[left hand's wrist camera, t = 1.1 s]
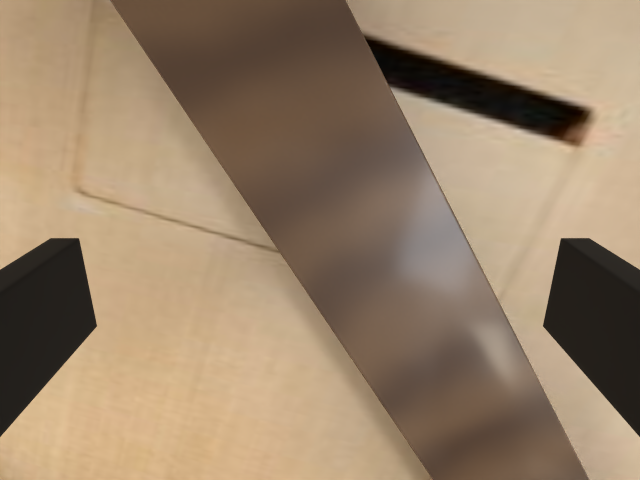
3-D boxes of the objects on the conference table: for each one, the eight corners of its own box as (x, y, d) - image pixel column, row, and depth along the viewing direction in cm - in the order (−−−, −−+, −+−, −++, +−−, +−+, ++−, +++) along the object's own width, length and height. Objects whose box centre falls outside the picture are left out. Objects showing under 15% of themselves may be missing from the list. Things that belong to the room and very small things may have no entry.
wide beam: (29, -183, 24) (-74, -271, 18) (172, -310, 22) (113, -457, 16) (540, 607, 47) (573, 688, 41) (631, 577, 45) (679, 657, 39)
